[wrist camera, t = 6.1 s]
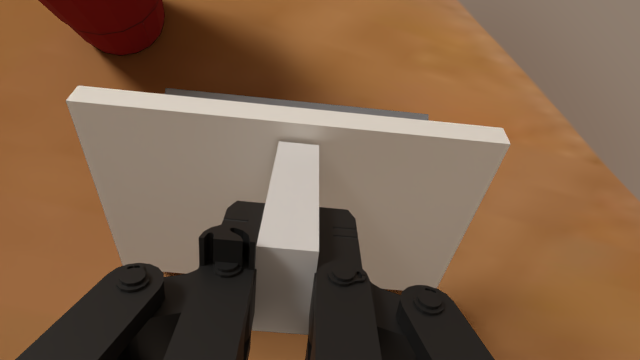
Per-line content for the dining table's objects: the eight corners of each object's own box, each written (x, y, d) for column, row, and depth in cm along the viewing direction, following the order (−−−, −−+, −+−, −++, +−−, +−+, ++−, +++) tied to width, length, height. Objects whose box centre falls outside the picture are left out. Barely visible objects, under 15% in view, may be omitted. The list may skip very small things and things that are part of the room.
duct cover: (130, 252, 23) (123, 268, 22) (78, 85, 16) (65, 100, 15) (431, 276, 24) (434, 292, 23) (502, 128, 17) (510, 144, 16)
